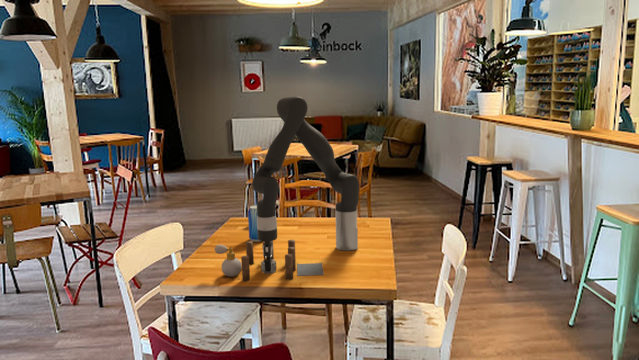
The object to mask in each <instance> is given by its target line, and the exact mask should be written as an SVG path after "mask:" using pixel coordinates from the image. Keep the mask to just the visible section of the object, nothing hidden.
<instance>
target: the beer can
mask: <svg viewBox="0 0 639 360" xmlns="http://www.w3.org/2000/svg"><path fill="white" fill-rule="evenodd" d="M247 219H248V238H249V240H250V241H252V242H255V243H258V242H259V243H260V242H262V241H260V240H258V233H257V204H254V205H251V206H249V209H248V210H247Z"/></svg>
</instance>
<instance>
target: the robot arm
mask: <svg viewBox="0 0 639 360" xmlns="http://www.w3.org/2000/svg"><path fill="white" fill-rule="evenodd" d="M276 111H277V114H278V116H279V117H280V119H281V120H282V121H283V122H284V123H283V126H282V127H281V130H280V131H279V133H278V134H277V135H276V136H275V138H274V139H273V140H272V142H271V144H270V145H269V147H268V149H267V153H266V155H265V157H264V160H263V163H262V164H261V165H260V167H259V168H258V170H257V171H256V173H255V174H254V176H253V178H252V183H251V185H252V189H253V191H254V192H255V193H257V194H262V196H263V197H262V199H260V200H258V201H257V203H256V205H257V233H258V240H260V241H261V242H262V245H261V246H262V256H263V260H264V263H265V271H266V272H270V271H271V259H272V251H273V252H274V241H276V240H277V238H278V220H277V214H276V213H277V211H276V204H277V200H278V195H279V190H280V189H279V188H280V186H279V182H278V180H277V178H276V177H275V176H273V175H274V173H278V172H280V171H281V169H282V168H283V165H284V162H285V159H286V155H287V154H288V150H289V149H290V147H291V144H292V141H294V139H295V136H296V137H297V139H298V140H299V141H300V144H302V146H303V147H304V148H305V150H306V152H307V153H308V155H310V157H311V158H312V159H313V161H314V162H315V163H316V165H317V166H318V168H319V169H320V170H321V172H323V174H324V176H325V178H326V179H327V181H328V183H329V184H330V186H331V188H332V190H333V191H334V192H335V193H337V194H340V195H341V198H340V199H341V201H337V202H336V203H335V245H336V246H335V247H336V249H337V250H338V251H344V252H346V251H347V252H348V251H355V250H358V249H359V247H358V246H359V244H358V241H359V240H358V236H359V235H358V230H359V229H358V219H357V218H358V217H357V216H358V211H357V210H358V204H359V199H360V198H359V197H360V181H359V178H358V176H356V175H355V174H351V173H345V171H343V170H342V169H341V168H340V167H339V165H338V163H336V159H335V153H334V149H333V147H332V146H331V144H330V142H329V141H328V139H327V138H326V136H324V135H323V134H322V133H321V131H319V130H317V129H316V128H315V127H313V126H312V125H311V124H310V123H308V122H307V121H306V119H305V118H306V116H307V113H308V103H307V101H306V99H305V98H303V97H301V96H287V97H286V96H285V97H282V98H280V99H279V100H278V102H277V104H276ZM272 241H273V242H272Z"/></svg>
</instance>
